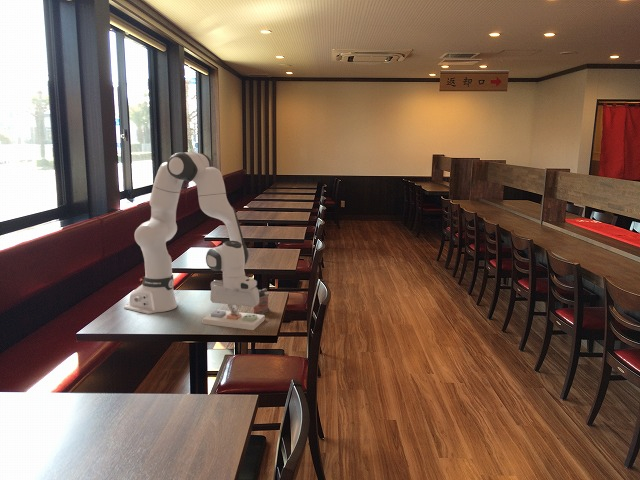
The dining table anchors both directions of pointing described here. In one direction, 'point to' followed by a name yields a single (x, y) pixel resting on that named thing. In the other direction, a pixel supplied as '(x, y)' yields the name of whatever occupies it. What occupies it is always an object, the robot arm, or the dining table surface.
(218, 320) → the panel
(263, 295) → the lighter
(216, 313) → the button slate
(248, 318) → the button sage
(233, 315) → the button terracotta
